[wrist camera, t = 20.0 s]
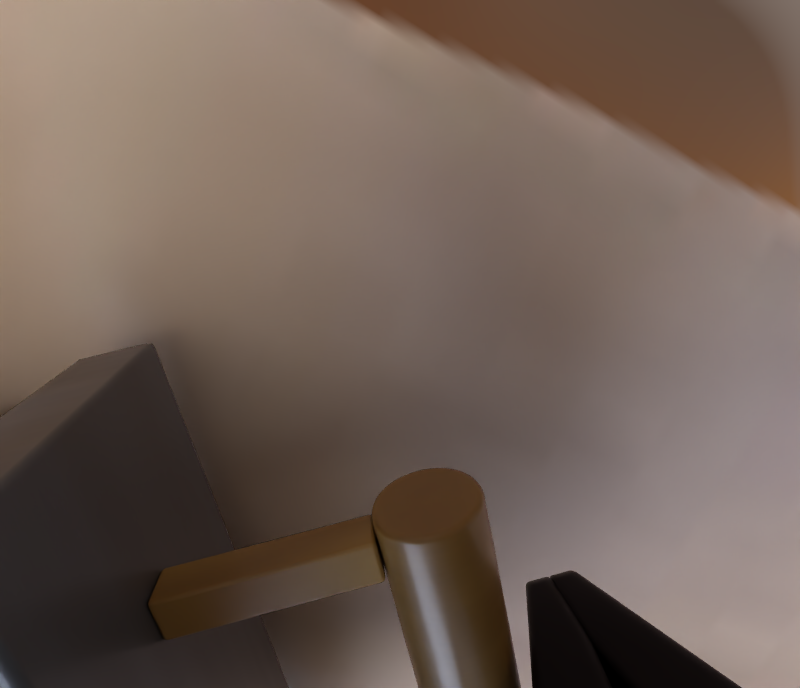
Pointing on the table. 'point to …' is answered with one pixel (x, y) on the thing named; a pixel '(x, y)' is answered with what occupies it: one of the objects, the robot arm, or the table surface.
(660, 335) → the table surface
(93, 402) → the drawer
